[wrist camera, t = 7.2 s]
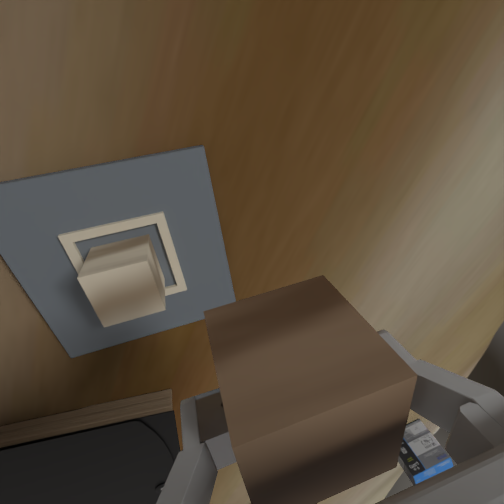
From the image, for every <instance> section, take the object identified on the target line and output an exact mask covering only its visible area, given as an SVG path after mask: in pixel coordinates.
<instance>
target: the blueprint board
mask: <svg viewBox="0 0 504 504" xmlns="http://www.w3.org/2000/svg"><path fill="white" fill-rule="evenodd" d="M147 234H149V236H150V239H151V241H152V244H153V247H154V250H155V253H156V256H157V258H158V261H159V264H160V267H161V270H162V273H163V275H164V278H165V306H166V310H164V311H161V312H157V313H154V314H150V315H147V316H143V317H140V318H136V319H133V320H129V321H126V322H122V323H118V324H115V325H111V326H108V327H103V325H102V323H101V321H100V319H99V317H98V316H97V314H96V312H95V310H94V308H93V306H92V305H91V303H90V301H89V299H88V297H87V295H86V294H85V292H84V290H83V288H82V286H81V285H80V283H79V281H78V279H77V277H78V275H79V273H80V271H81V268H82V266H83V264H84V262H85V260H86V257H87V255H88V253H89V251H90V249H91V248H92V247H96V246H100V245H105V244H109V243H113V242H117V241H122V240H126V239H130V238H134V237H139V236H143V235H147ZM0 254H1V256H2V257H3V259H4V260H5V262H6V263H7V265H8V266H9V268H10V269H11V271H12V272H13V273H14V275H15V276H16V278H17V279H18V281H19V282H20V284H21V285H22V287H23V288H24V290H25V291H26V293H27V294H28V296H29V297H30V299H31V300H32V301H33V303H34V304H35V306H36V307H37V309H38V310H39V312H40V313H41V315H42V316H43V318H44V319H45V321H46V322H47V324H48V325H49V326H50V328H51V329H52V331H53V332H54V334H55V335H56V337H57V338H58V340H59V341H60V343H61V344H62V346H63V347H64V349H65V350H66V351H67V353H68V354H69V356H70V357H71V358H74V357H77V356H80V355H84V354H87V353H91V352H94V351H97V350H101V349H104V348H107V347H111V346H114V345H117V344H121V343H124V342H128V341H131V340H134V339H138V338H141V337H144V336H148V335H151V334H155V333H158V332H161V331H165V330H168V329H171V328H175V327H178V326H181V325H185V324H188V323H192V322H195V321H198V320H202V319H205V317H204V312H203V311H206V310H210V309H213V308H216V307H220V306H223V305H226V304H230V303H233V302H236V300H235V295H234V290H233V286H232V281H231V276H230V271H229V266H228V261H227V257H226V252H225V247H224V242H223V237H222V232H221V227H220V223H219V218H218V213H217V208H216V203H215V198H214V194H213V189H212V184H211V179H210V174H209V169H208V164H207V160H206V155H205V150H204V146H203V145H199V146H193V147H188V148H183V149H177V150H172V151H166V152H161V153H156V154H150V155H145V156H139V157H134V158H129V159H123V160H118V161H112V162H107V163H101V164H96V165H91V166H85V167H80V168H74V169H69V170H64V171H58V172H53V173H47V174H42V175H37V176H31V177H26V178H20V179H15V180H10V181H4V182H0Z"/></svg>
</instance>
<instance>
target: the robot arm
mask: <svg viewBox="0 0 504 504" xmlns="http://www.w3.org/2000/svg"><path fill="white" fill-rule="evenodd" d="M377 333H378V334H379V335H380V336H381V337H382V338H383V339H384V340H385V341H386V342H387V343H388V344H389V345H390V346H391V348H392V349H393V350H394V351H395V352H396V353H397V354H398V355H399V356H400V357H401V358H402V359H403V360H404V361H405V362H406V363H407V364H408V365H409V367H410V368H411V369H412V370H413V371H414V372H415V373H416V374H417V375H418V376H417V380H416V384H415V389H414V393H413V397H412V402H411V406H410V409H411V410H413V411H415V412H416V413H418V414H419V415H421V416H423V417H424V418H426V419H428V420H429V421H431V422H432V423H434V424H436V425H437V426H439V427H440V428H442V429H444V430H445V431H447V432H449V433H450V434H449V437H448V439H447V442H446V445H445V449H446V451H447V452H448V453H449V455H450V456H451V457H452V459H453V460H454V461H455V462H456V463H457V465H456V466H454V467H452V468H449V469H447V470H445V471H443V472H441V473H439V474H437V475H435V476H433V477H430V478H428V479H426V480H424V481H422V482H420V483H418V484H416V485H413V486H411V487H409V488H407V489H405V490H403V491H401V492H399V493H397V494H394V495H392V496H390V497H388V498H386V499H384V500H382V501H380V502H377V503H375V504H504V397H503V396H502V395H501V394H499V393H498V392H497V391H496V390H494V389H491V388H489V387H487V386H484V385H481V384H479V383H477V382H474V381H472V380H469V379H467V378H465V377H462V376H460V375H457V374H455V373H452V372H450V371H448V370H445V369H443V368H440V367H438V366H435V365H433V364H430V363H428V362H426V361H423V360H421V359H420V360H416V359H415V358H414V357H413V356H412V355H411V354H410V353H409V352H408V351H407V350H406V349H405V348H404V347H403V346H402V345H401V344H400V343H399V342H398V341H397V340H396V339H395V338H394V337H393V336H392V335H391V334H390V333H389V332H388V331H386V330H380V331H378V332H377ZM180 411H181V426H182V441H183V450H182V451H180V452H179V453H178V455H177V457H176V459H175V462H174V464H173V466H172V469H171V471H170V473H169V475H168V478H167V480H166V482H165V484H164V487H163V489H162V491H161V494H160V496H159V498H158V500H157V503H156V504H209V502H210V499H211V495H212V491H213V488H214V484H215V480H216V476H217V473H218V471H217V470H219V469H221V468H223V467H225V466H228V465H230V464H232V463H235V462H237V461H236V458H235V455H234V452H233V450H232V445H231V441H230V436H229V431H228V426H227V422H226V417H225V412H224V407H223V402H222V398H221V393H220V388H218V389H215V390H212V391H209V392H206V393H203V394H200V395H197V396H194V397H191V398H188V399H185V400H182V401H181V404H180Z"/></svg>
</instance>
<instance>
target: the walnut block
mask: <svg viewBox="0 0 504 504" xmlns="http://www.w3.org/2000/svg"><path fill="white" fill-rule="evenodd" d="M203 312H204V317H205V321H206V326H207V331H208V336H209V340H210V345H211V350H212V355H213V360H214V364H215V369H216V374H217V379H218V383H219V388H220V393H221V398H222V402H223V407H224V412H225V417H226V422H227V426H228V431H229V436H230V441H231V445H232V450H233V452H234V455H235V458H236V461H237V464H238V467H239V469H240V472H241V475H242V478H243V481H244V484H245V487H246V489H247V492H248V495H249V498H250V501H251V504H316V503H318V502H320V501H323V500H325V499H327V498H329V497H331V496H334V495H336V494H338V493H340V492H342V491H345V490H347V489H349V488H351V487H353V486H356V485H358V484H360V483H362V482H364V481H367V480H369V479H371V478H373V477H375V476H378V475H380V474H382V473H384V472H386V471H389V470H391V469H393V468H395V467H396V466H397V462H398V458H399V453H400V449H401V445H402V441H403V436H404V432H405V428H406V423H407V419H408V415H409V410H410V406H411V402H412V397H413V393H414V389H415V384H416V380H417V376H418V375H417V374H416V373H415V372H414V371H413V370H412V369H411V368H410V367H409V365H408V364H407V363H406V362H405V361H404V360H403V359H402V358H401V357H400V356H399V355H398V354H397V353H396V352H395V351H394V350H393V349H392V348H391V346H390V345H389V344H388V343H387V342H386V341H385V340H384V339H383V338H382V337H381V336H380V335H379V334H378V333H377V332H376V331H375V330H374V328H373V327H372V326H371V325H370V324H369V323H368V322H367V321H366V320H365V319H364V318H363V317H362V316H361V315H360V314H359V313H358V312H357V311H356V309H355V308H354V307H353V306H352V305H351V304H350V303H349V302H348V301H347V300H346V299H345V298H344V297H343V296H342V295H341V294H340V293H339V291H338V290H337V289H336V288H335V287H334V286H333V285H332V284H331V283H330V282H329V281H328V280H327V279H326V278H325V277H324V276H323V275H322V276H319V277H315V278H312V279H309V280H306V281H302V282H299V283H296V284H292V285H289V286H286V287H282V288H279V289H276V290H272V291H269V292H266V293H263V294H259V295H256V296H253V297H249V298H246V299H243V300H239V301H236V302H233V303H230V304H226V305H223V306H220V307H216V308H213V309H210V310H206V311H203Z"/></svg>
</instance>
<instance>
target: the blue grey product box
mask: <svg viewBox="0 0 504 504" xmlns="http://www.w3.org/2000/svg"><path fill="white" fill-rule="evenodd" d="M398 462H399V464H400V465H401V467H402V468H403V470H404V471H405V473H406V474H407V476H408V477H409V479H410V480H411V482H412V483H413V485H416V484H418V483H420V482H422V481H424V480H426V479H428V478H430V477H433V476H435V475H437V474H439V473H441V472H443V471H445V470H447V469H449V468H452V467H454V466H453V463H452V460H451V457H450V456H449V455H448V454H447V452H446V451H445V450H444V449H443V448H442V446H441V445H440V444H439V442H438V441H437V440H436V439H435V437H434V436H433V435H432V434H431V432H430V431H429V430H428V429H427V428H426V426H425V425H424V424H423V423H422V422H421V420H420V419H418V420H416V421H414V422H412V423H409V424H407V425H406V428H405V432H404V436H403V441H402V445H401V449H400V453H399V458H398Z"/></svg>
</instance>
